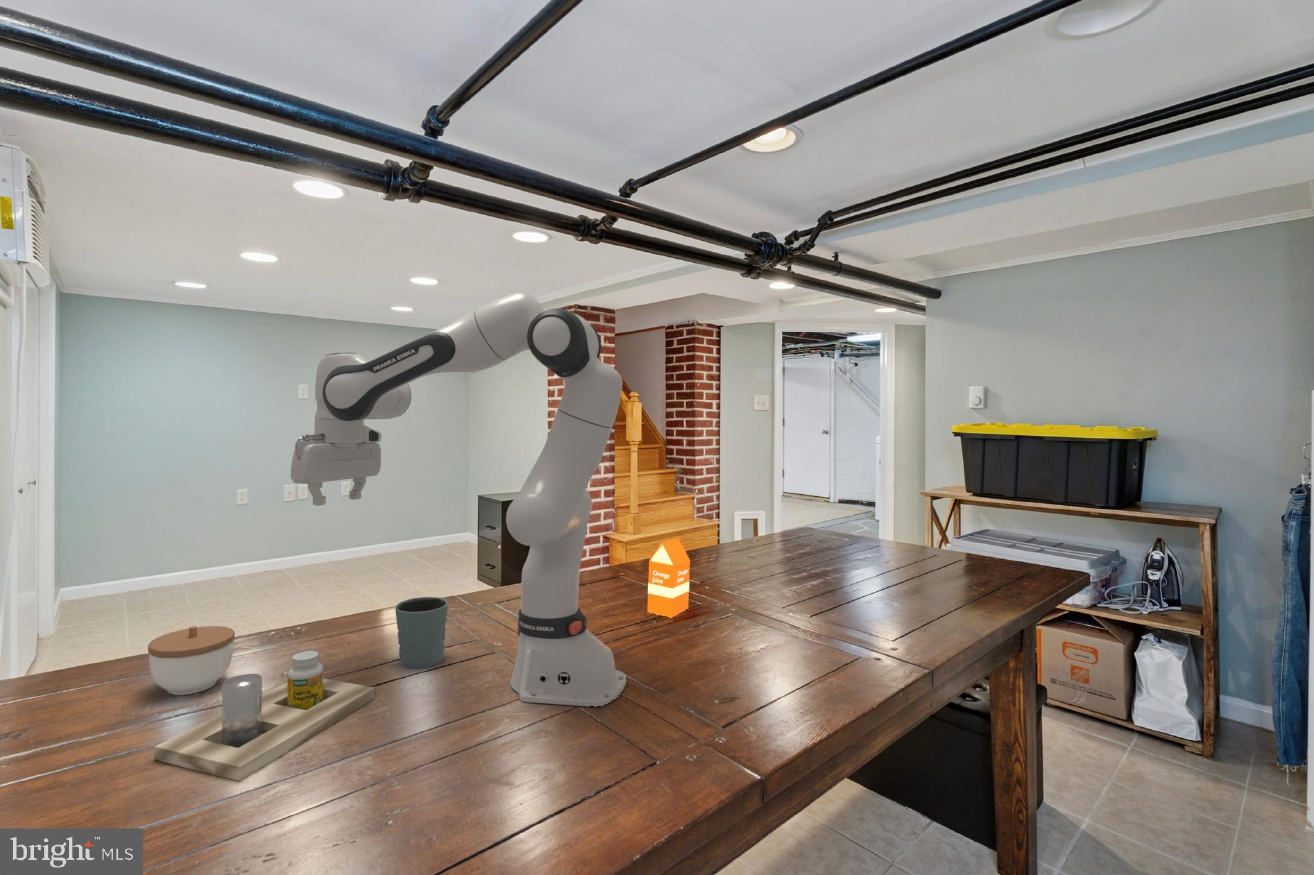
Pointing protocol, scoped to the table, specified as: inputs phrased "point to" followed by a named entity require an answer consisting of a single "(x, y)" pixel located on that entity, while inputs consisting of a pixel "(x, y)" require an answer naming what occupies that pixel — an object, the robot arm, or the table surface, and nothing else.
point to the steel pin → (241, 709)
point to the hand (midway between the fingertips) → (337, 502)
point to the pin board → (277, 727)
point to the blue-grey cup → (421, 631)
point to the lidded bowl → (191, 658)
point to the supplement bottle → (305, 681)
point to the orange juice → (668, 579)
